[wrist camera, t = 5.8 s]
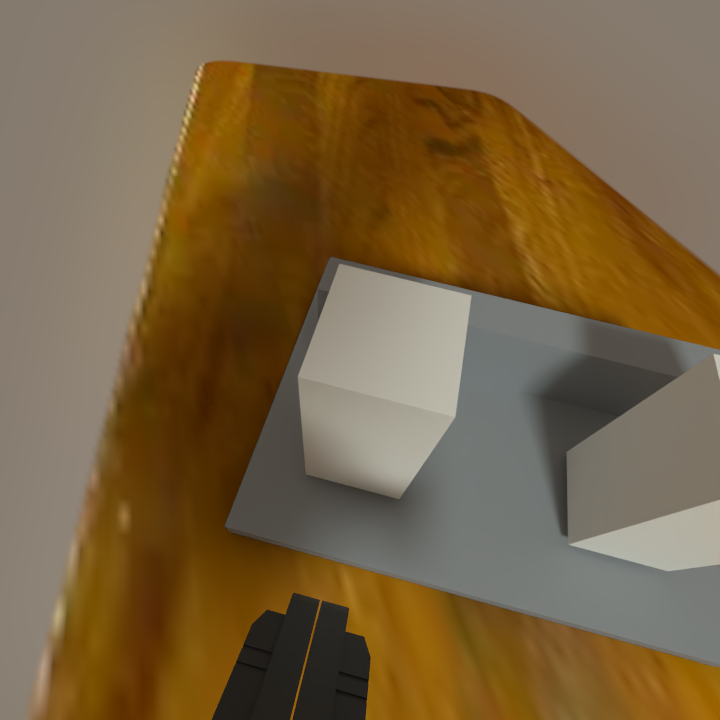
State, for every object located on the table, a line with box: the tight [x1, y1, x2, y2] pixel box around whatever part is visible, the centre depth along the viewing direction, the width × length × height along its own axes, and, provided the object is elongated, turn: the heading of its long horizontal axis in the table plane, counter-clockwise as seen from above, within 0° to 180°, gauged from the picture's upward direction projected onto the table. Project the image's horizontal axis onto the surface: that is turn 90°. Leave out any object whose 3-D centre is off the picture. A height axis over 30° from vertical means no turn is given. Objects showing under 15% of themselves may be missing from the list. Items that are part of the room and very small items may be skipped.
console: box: [224, 257, 720, 667], centre depth 19 cm, size 15×20×5 cm
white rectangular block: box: [567, 354, 720, 571], centre depth 15 cm, size 4×4×8 cm
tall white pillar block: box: [298, 264, 472, 499], centre depth 15 cm, size 4×4×8 cm
